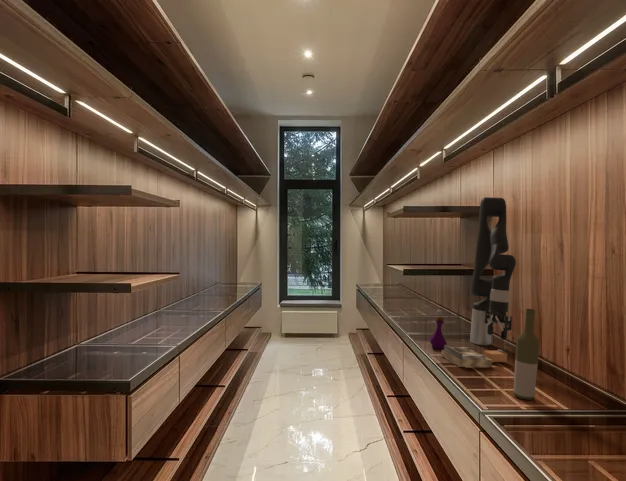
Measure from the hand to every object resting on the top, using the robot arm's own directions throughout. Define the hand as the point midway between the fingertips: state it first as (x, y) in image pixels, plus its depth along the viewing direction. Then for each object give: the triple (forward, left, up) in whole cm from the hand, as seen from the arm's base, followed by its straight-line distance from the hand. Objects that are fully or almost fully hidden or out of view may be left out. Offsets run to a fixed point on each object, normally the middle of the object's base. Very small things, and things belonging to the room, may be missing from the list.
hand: (496, 336), depth 174 cm
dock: (+14, 0, -11) cm, 18 cm away
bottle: (+17, +36, -11) cm, 41 cm away
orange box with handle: (0, 0, -11) cm, 11 cm away
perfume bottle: (+16, -20, -11) cm, 28 cm away
